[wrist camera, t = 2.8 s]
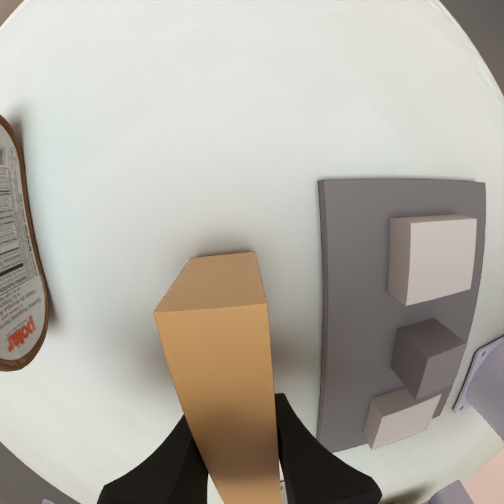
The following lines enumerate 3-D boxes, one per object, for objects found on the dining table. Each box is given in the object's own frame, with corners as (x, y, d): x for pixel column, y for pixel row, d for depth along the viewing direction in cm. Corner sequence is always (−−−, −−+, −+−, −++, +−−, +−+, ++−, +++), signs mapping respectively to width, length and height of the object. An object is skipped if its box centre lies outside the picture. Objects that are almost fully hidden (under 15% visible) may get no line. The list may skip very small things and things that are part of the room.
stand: (475, 182, 13) (523, 185, 9) (435, 408, 18) (457, 437, 13) (317, 180, 13) (353, 177, 9) (315, 447, 18) (327, 488, 13)
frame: (255, 251, 13) (267, 303, 7) (272, 443, 16) (281, 511, 10) (191, 257, 13) (153, 312, 7) (230, 446, 16) (230, 514, 10)
